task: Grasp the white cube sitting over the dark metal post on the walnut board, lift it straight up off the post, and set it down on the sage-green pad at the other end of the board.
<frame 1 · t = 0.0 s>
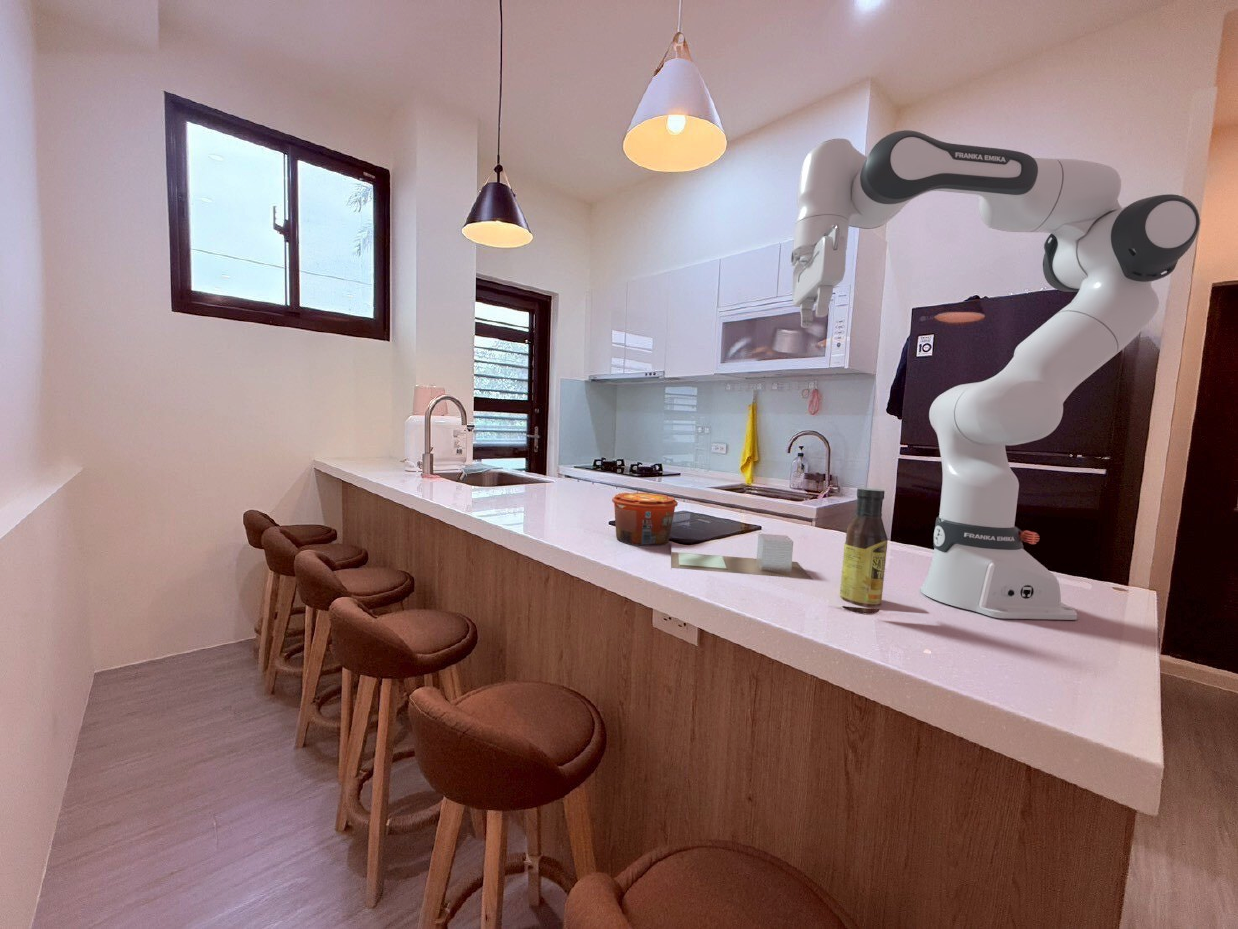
hand: (813, 322, 92), 48 cm above the table, tool pointing down, fingers open, 8 cm apart
food container: (642, 540, 126), on the table
post board: (736, 571, 103), on the table
sauce bottle: (859, 609, 85), on the table
white cube: (773, 567, 102), point 1 cm above the table, touching post board
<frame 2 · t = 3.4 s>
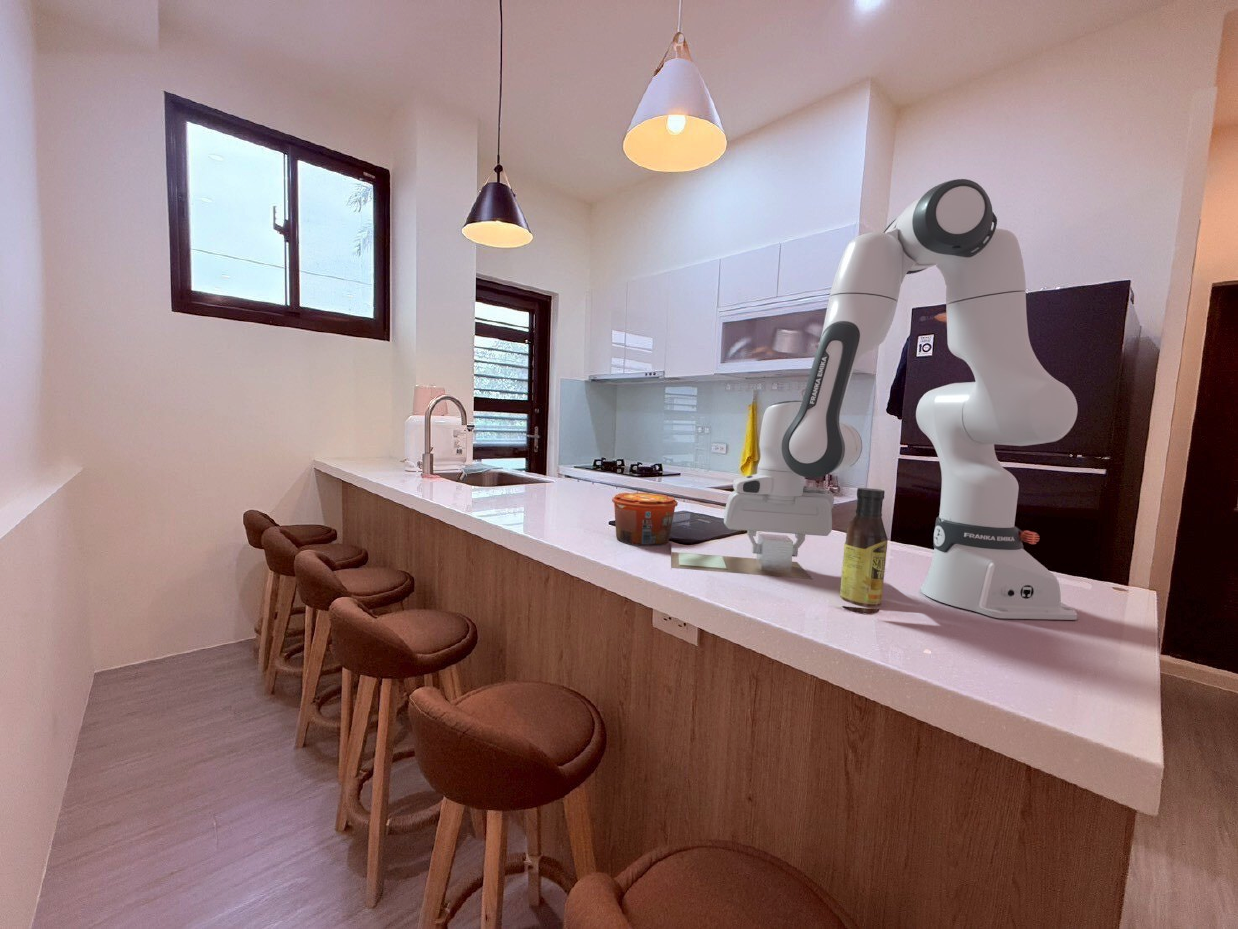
hand: (774, 554, 102), 4 cm above the table, tool pointing down, fingers closed on white cube, 6 cm apart
white cube: (773, 567, 102), point 1 cm above the table, touching gripper, post board
everything else where it was.
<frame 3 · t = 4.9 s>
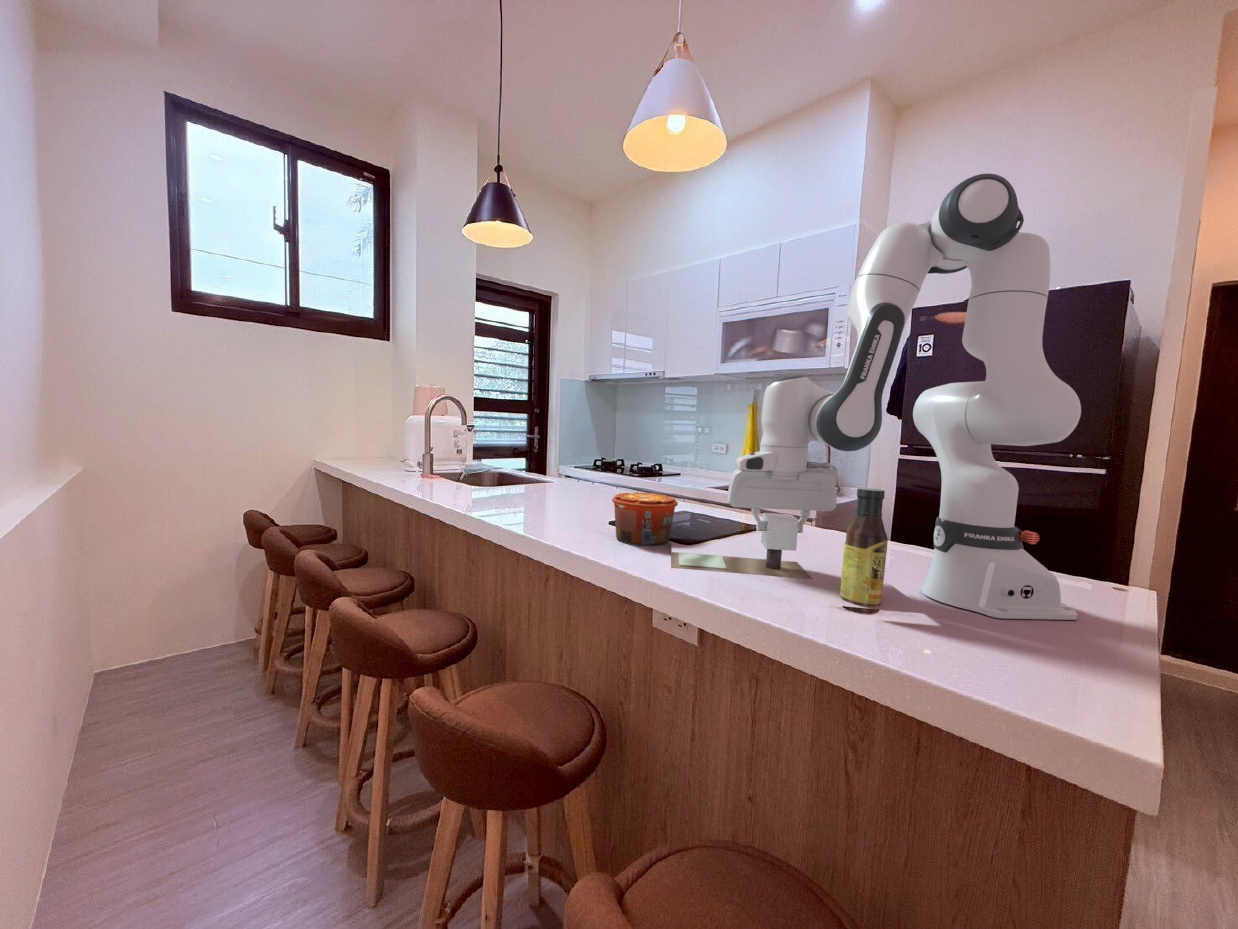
hand: (779, 531, 101), 9 cm above the table, tool pointing down, fingers closed on white cube, 6 cm apart
white cube: (778, 546, 101), point 6 cm above the table, touching gripper
everything else where it was.
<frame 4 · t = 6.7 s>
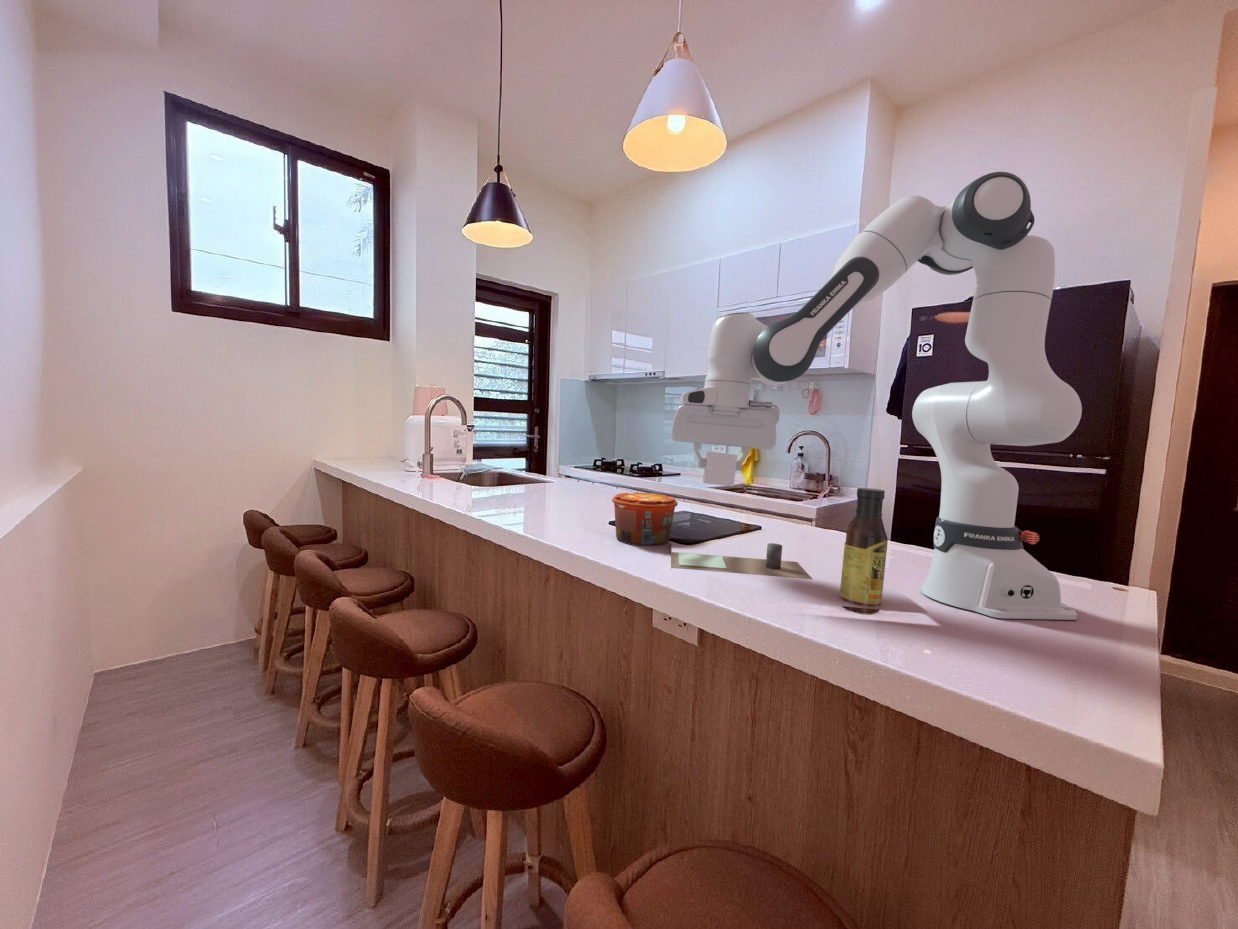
hand: (719, 468, 102), 20 cm above the table, tool pointing down, fingers closed on white cube, 6 cm apart
white cube: (717, 483, 102), point 17 cm above the table, touching gripper
everything else where it was.
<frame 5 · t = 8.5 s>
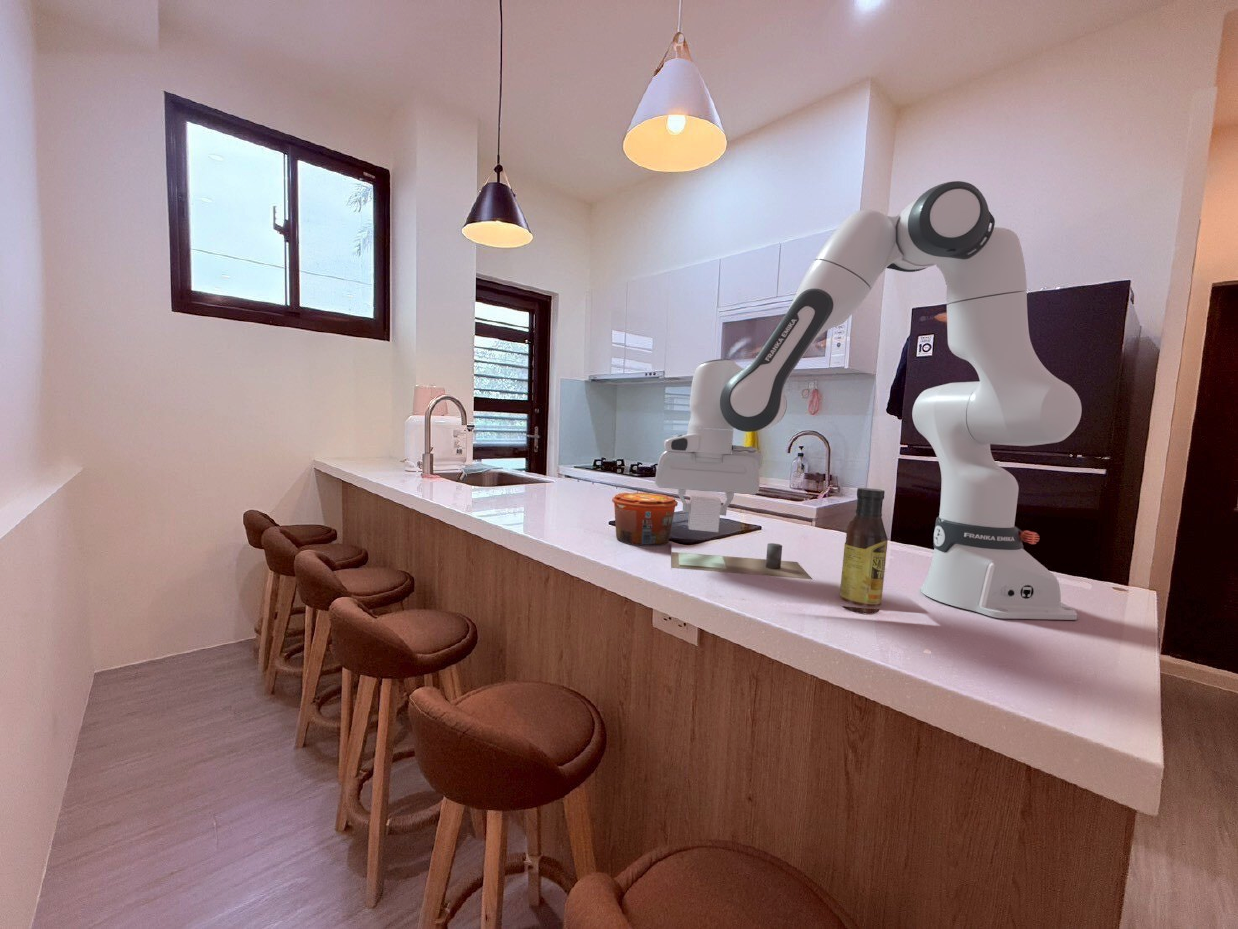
hand: (703, 513, 102), 11 cm above the table, tool pointing down, fingers closed on white cube, 6 cm apart
white cube: (702, 528, 102), point 8 cm above the table, touching gripper
everything else where it was.
when the fingers open (6 cm above the table, at t = 10.0 s): white cube stays where it is, resting on post board.
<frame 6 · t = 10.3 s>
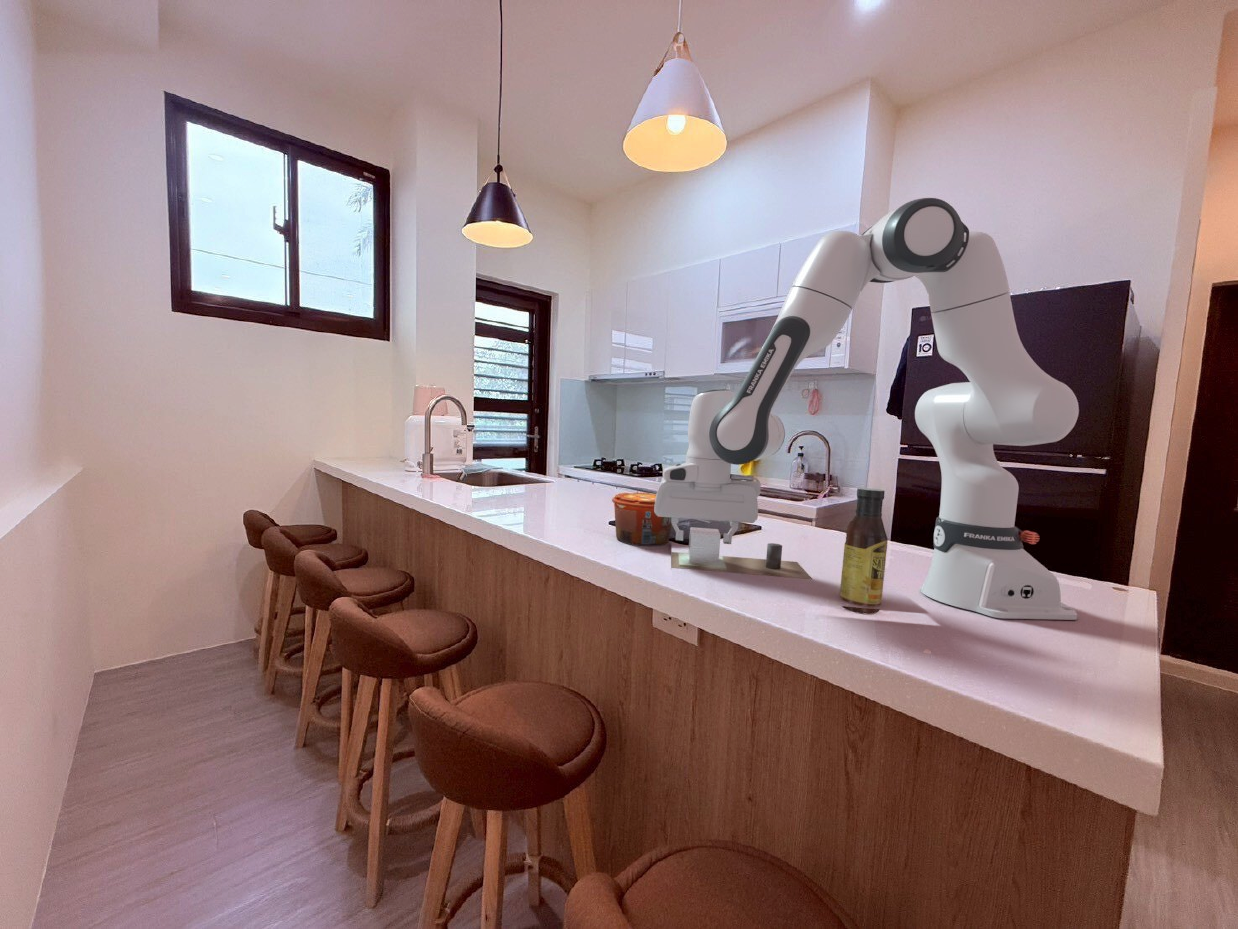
hand: (703, 541, 103), 6 cm above the table, tool pointing down, fingers open, 8 cm apart
white cube: (702, 560, 103), point 2 cm above the table, touching post board
everything else where it was.
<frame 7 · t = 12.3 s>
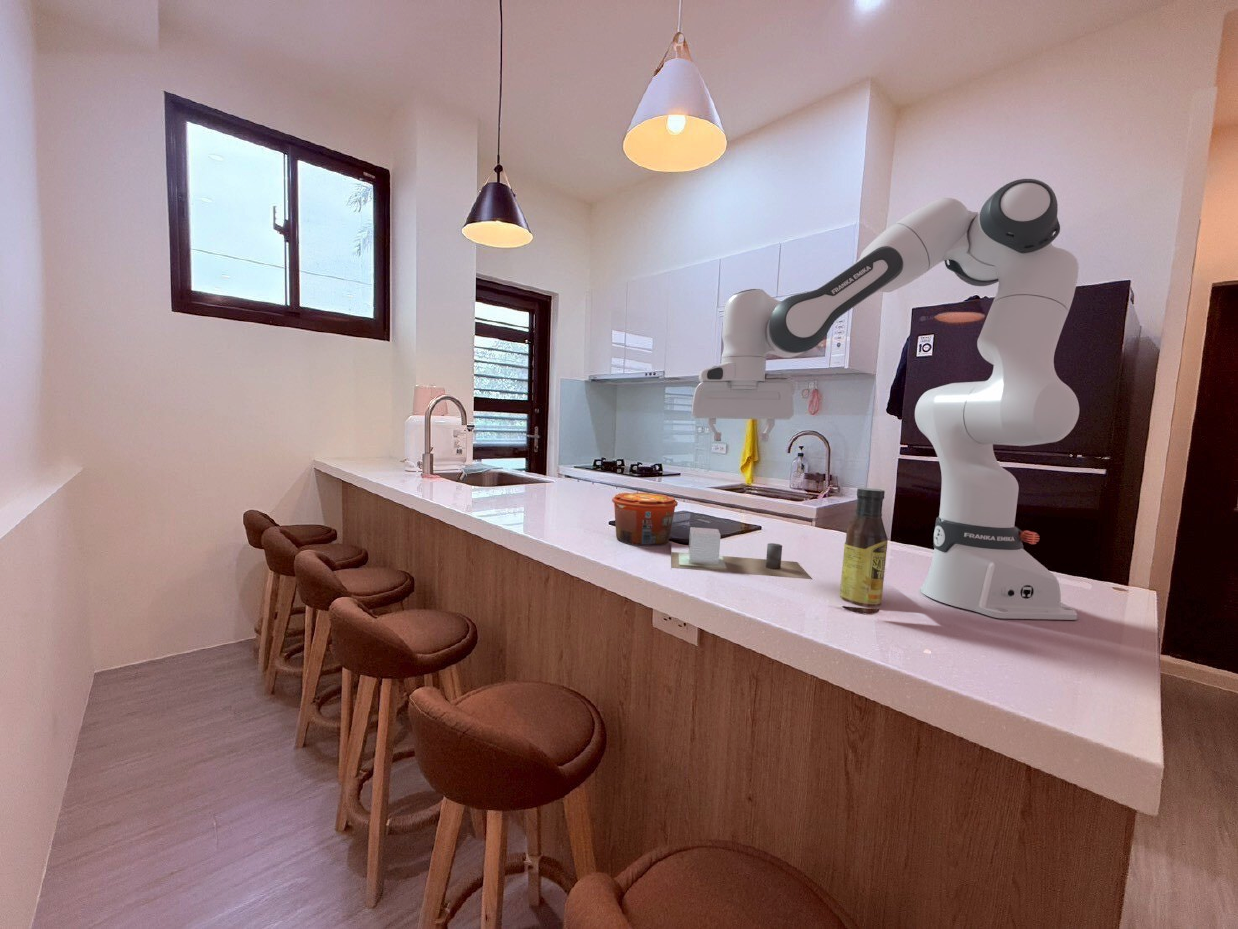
hand: (740, 441, 106), 26 cm above the table, tool pointing down, fingers open, 8 cm apart
nothing on the table moved.
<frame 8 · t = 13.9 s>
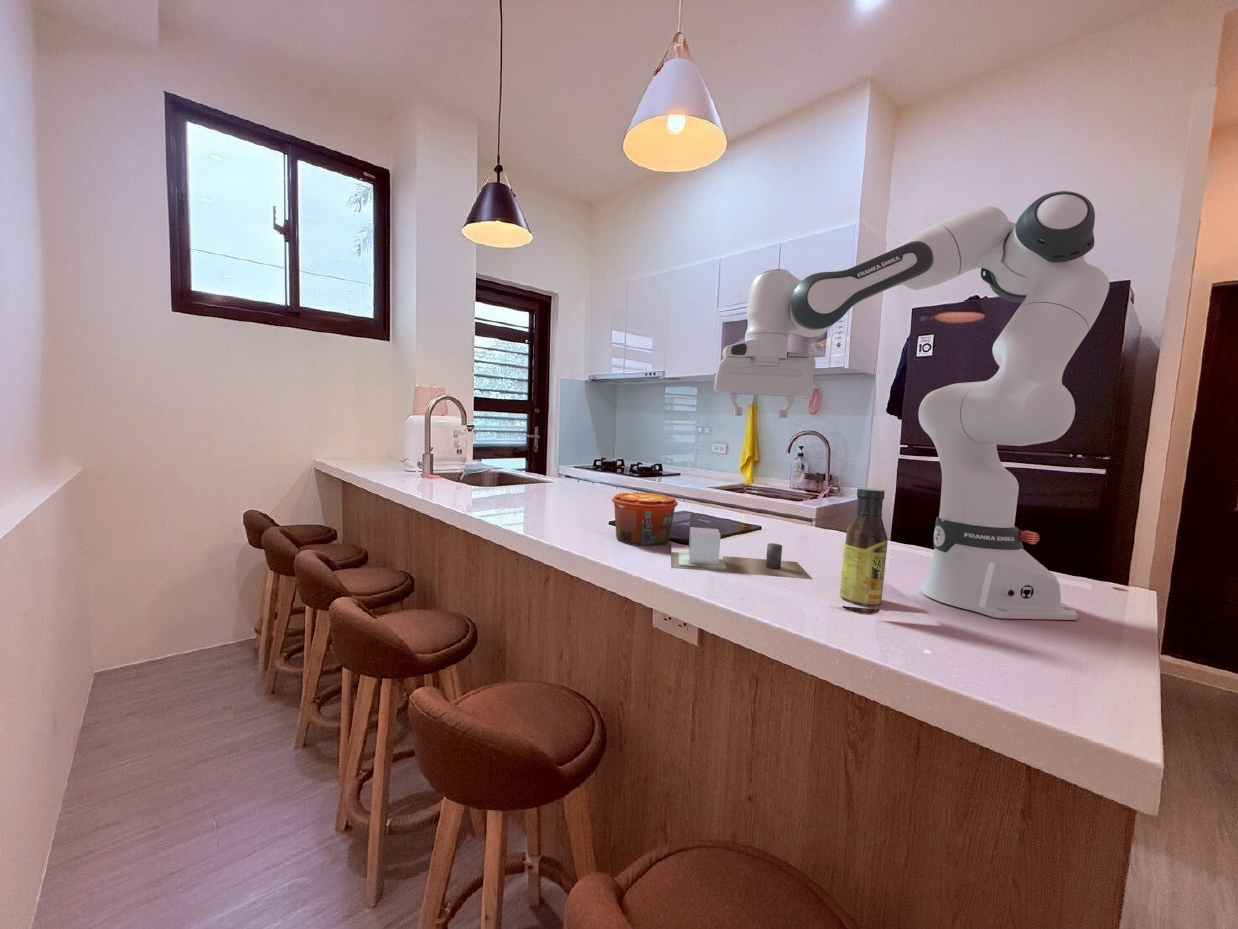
hand: (760, 416, 110), 31 cm above the table, tool pointing down, fingers open, 8 cm apart
nothing on the table moved.
at the end: white cube inside the target area on the post board (0.3 cm from its centre), point 1.8 cm above the post board's base; white cube tilted 0°; the gripper is holding nothing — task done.
